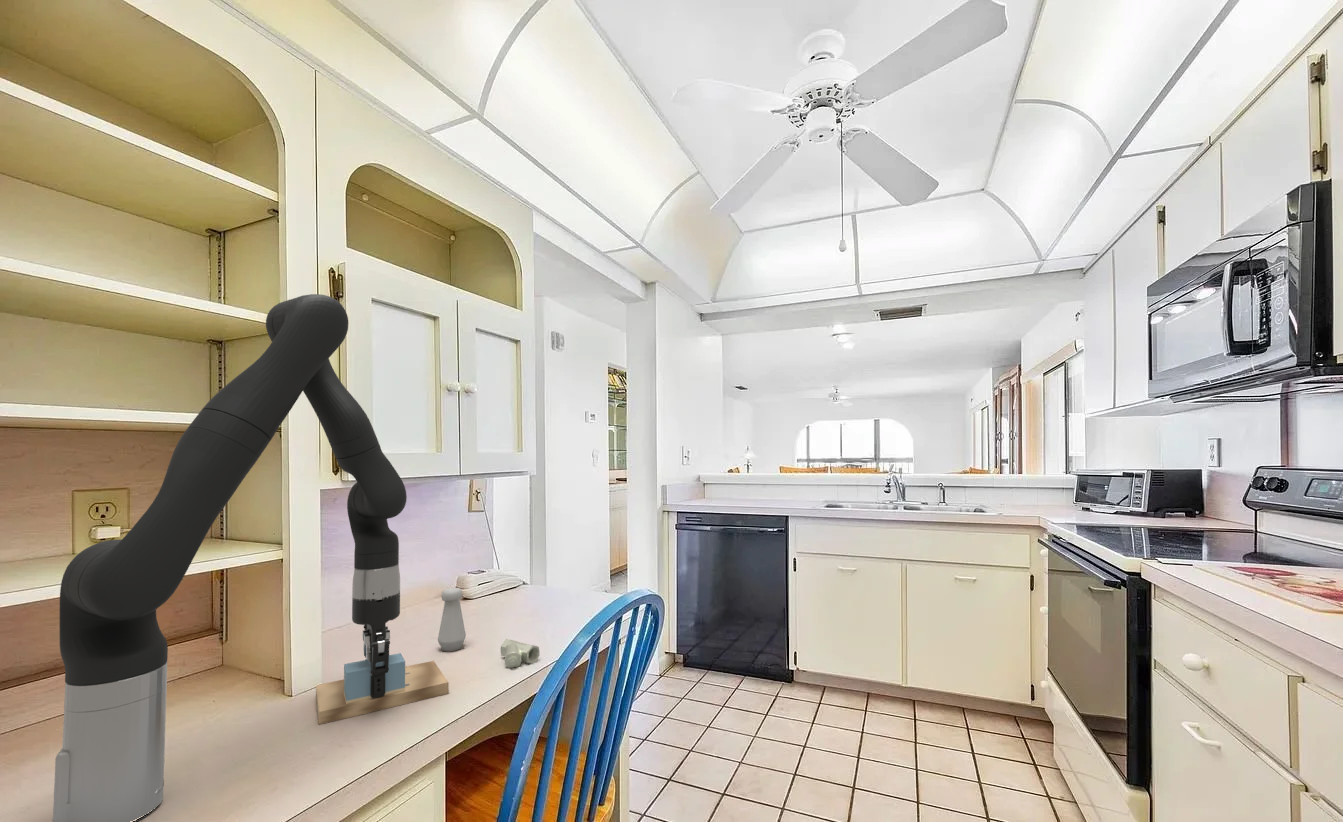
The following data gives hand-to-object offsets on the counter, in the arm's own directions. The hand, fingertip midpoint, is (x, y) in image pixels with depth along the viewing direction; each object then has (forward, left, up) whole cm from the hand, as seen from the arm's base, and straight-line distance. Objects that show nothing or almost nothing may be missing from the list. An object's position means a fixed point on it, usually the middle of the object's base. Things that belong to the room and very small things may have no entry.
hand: (375, 690), depth 101 cm
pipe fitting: (+26, +5, -3) cm, 27 cm away
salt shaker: (+17, +21, -2) cm, 28 cm away
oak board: (+1, +3, -2) cm, 4 cm away
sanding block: (0, 0, 0) cm, 0 cm away
